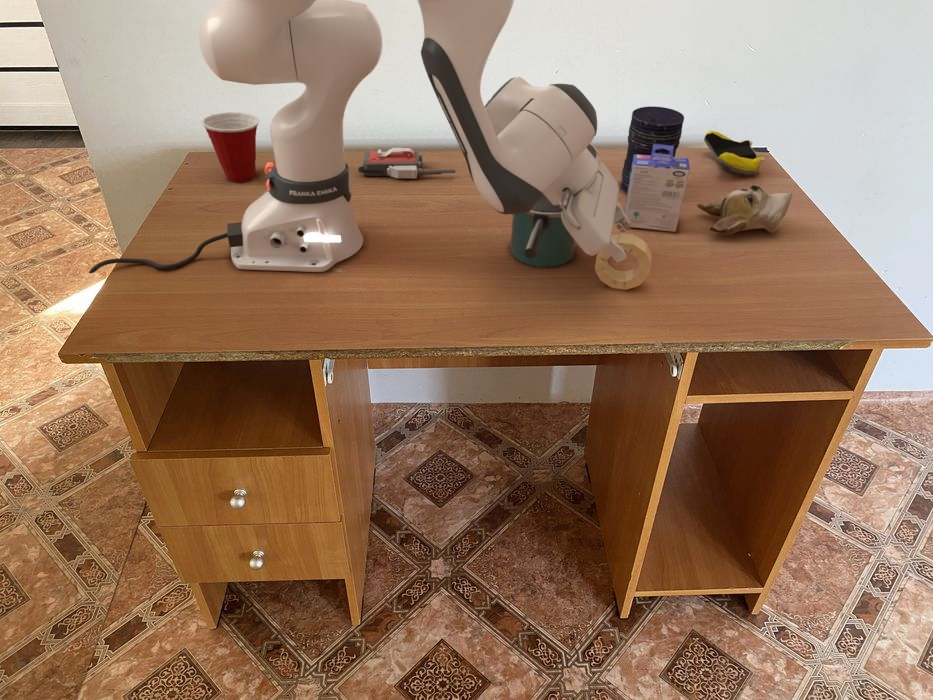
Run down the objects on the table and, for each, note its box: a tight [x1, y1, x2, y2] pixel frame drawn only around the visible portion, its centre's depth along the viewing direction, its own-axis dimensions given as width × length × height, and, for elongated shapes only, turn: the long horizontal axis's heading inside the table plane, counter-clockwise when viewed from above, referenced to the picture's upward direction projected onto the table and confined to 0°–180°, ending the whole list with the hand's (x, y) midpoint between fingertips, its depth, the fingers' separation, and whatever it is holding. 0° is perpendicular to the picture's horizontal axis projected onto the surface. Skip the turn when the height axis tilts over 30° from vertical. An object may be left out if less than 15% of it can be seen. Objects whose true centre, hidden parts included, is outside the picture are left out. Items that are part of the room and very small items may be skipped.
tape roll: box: [594, 232, 653, 291], centre depth 108 cm, size 8×3×8 cm, turn 76°
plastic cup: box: [201, 111, 260, 183], centre depth 138 cm, size 11×11×12 cm
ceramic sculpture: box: [696, 184, 793, 236], centre depth 123 cm, size 11×9×15 cm
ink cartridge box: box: [623, 144, 691, 233], centre depth 123 cm, size 10×6×14 cm, turn 78°
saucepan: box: [510, 194, 576, 268], centre depth 112 cm, size 22×12×10 cm, turn 166°
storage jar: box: [619, 106, 685, 195], centre depth 134 cm, size 10×10×15 cm
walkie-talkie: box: [357, 146, 456, 180], centre depth 142 cm, size 9×4×20 cm
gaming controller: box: [703, 130, 765, 178], centre depth 145 cm, size 15×6×10 cm
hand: (625, 242), depth 106 cm, fingers open, 8 cm apart
